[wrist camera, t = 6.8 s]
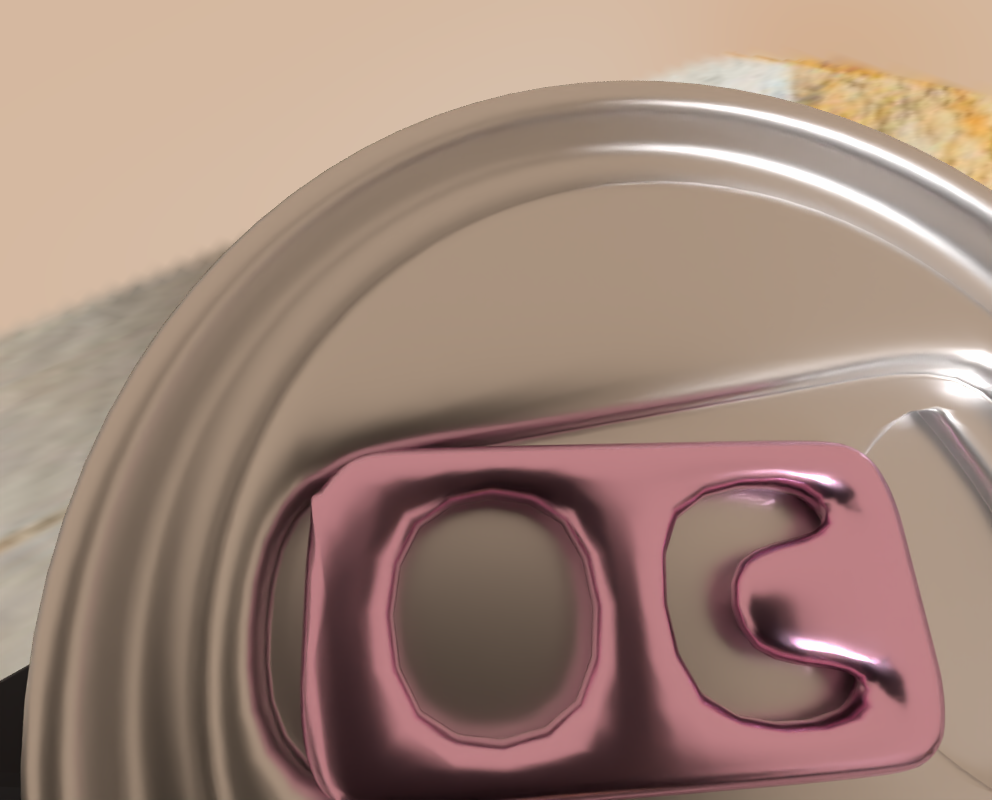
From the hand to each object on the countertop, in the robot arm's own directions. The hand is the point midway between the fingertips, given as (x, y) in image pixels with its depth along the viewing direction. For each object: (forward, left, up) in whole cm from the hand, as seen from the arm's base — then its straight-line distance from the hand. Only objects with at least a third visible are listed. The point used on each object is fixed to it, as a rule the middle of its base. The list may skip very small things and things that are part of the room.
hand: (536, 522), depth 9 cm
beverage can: (-1, +1, -8) cm, 9 cm away
